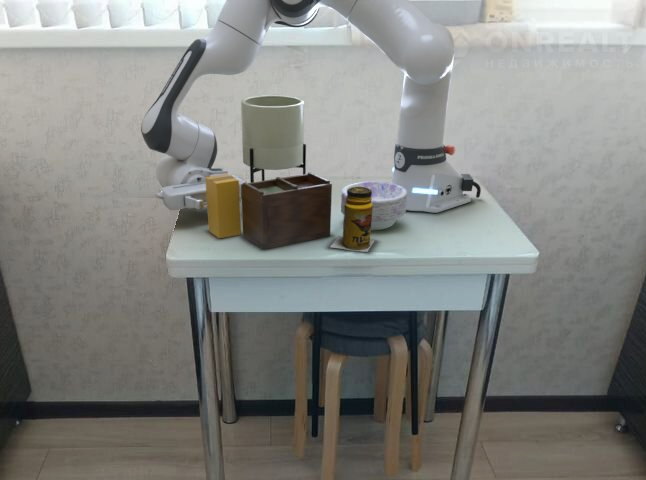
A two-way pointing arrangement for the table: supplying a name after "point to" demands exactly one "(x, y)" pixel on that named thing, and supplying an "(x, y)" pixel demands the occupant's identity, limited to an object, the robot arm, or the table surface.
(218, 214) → the package
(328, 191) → the rack
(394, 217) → the paper bowls
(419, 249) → the table surface
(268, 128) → the planter
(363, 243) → the condiment
